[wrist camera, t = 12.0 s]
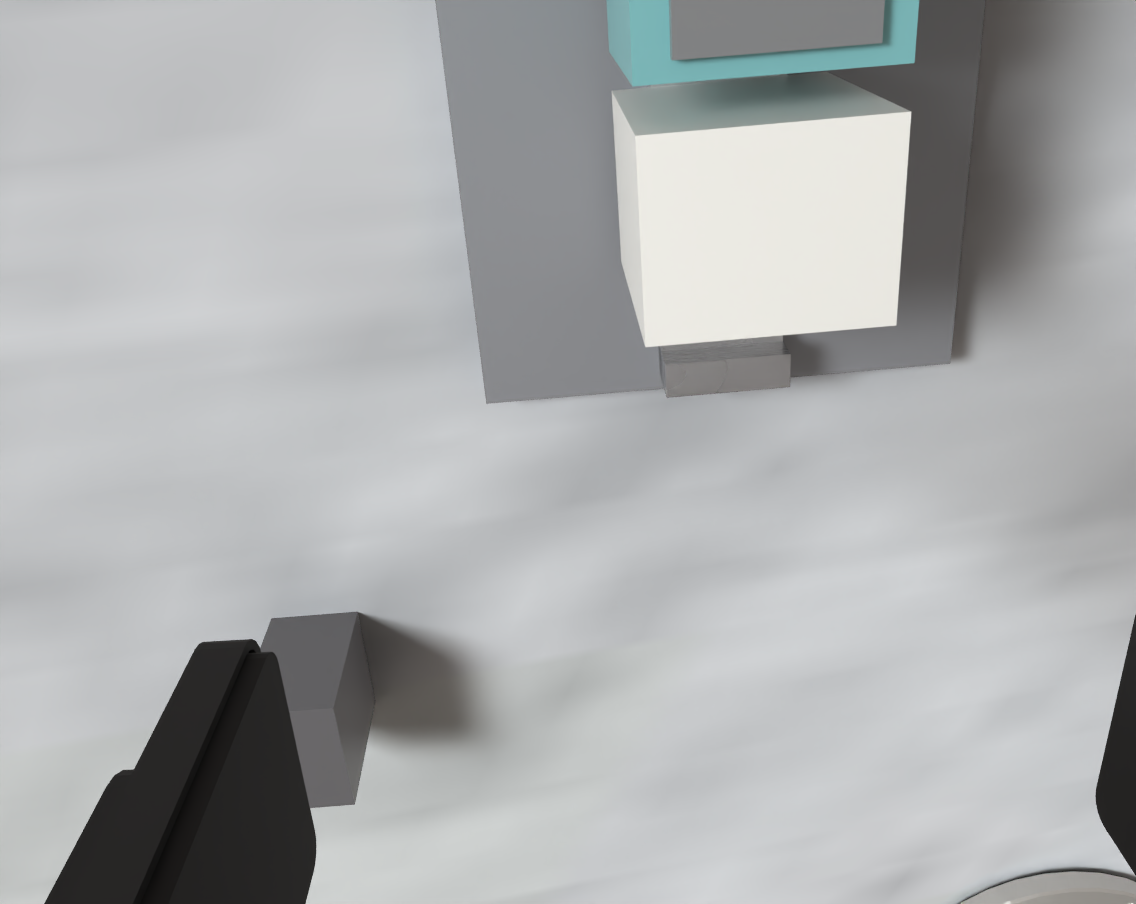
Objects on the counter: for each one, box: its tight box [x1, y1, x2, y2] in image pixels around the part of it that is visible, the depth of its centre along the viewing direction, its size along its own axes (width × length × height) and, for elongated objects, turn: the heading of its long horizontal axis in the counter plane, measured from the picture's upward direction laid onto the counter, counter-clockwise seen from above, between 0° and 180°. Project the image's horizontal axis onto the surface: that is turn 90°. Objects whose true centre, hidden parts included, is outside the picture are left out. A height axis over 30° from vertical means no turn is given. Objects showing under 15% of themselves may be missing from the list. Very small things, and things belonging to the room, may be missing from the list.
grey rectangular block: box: [260, 612, 375, 808], centre depth 34 cm, size 3×4×5 cm
